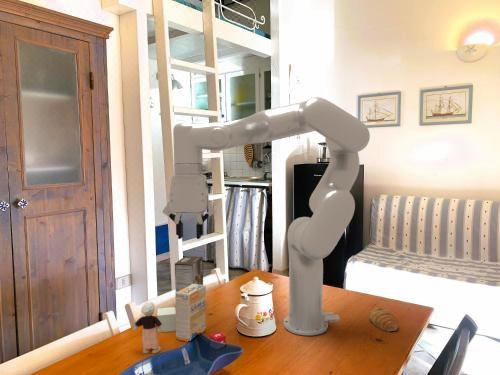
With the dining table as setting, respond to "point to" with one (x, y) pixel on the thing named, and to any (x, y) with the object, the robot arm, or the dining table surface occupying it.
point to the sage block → (167, 318)
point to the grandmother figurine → (149, 328)
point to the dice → (218, 337)
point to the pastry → (384, 319)
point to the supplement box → (190, 311)
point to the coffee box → (188, 272)
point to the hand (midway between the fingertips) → (189, 237)
